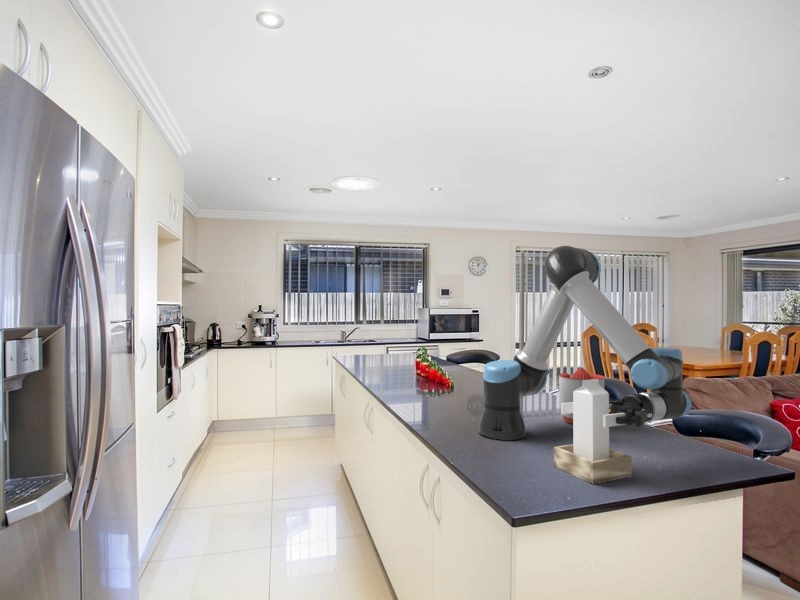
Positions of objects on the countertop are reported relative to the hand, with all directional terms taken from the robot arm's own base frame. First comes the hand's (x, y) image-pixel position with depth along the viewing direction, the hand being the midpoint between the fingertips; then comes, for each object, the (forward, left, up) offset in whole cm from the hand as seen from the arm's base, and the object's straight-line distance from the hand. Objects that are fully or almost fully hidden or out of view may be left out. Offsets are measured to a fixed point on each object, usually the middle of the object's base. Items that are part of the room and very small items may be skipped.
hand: (581, 414), depth 108 cm
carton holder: (0, +3, -14) cm, 15 cm away
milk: (0, +3, -14) cm, 14 cm away
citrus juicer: (-38, +38, -15) cm, 56 cm away
